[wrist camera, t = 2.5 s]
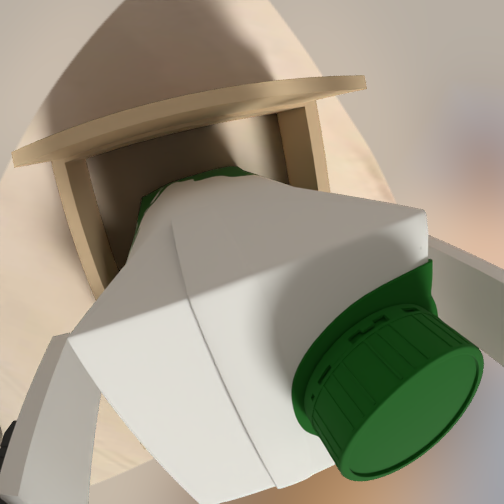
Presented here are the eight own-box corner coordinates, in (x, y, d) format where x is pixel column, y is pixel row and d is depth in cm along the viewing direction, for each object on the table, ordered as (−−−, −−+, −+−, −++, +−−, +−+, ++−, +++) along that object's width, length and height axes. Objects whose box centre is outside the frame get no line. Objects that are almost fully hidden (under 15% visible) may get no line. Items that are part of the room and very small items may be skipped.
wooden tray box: (135, 341, 25) (131, 451, 14) (72, 151, 19) (-5, 160, 9) (313, 289, 28) (391, 367, 17) (285, 101, 22) (379, 75, 11)
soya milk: (274, 259, 26) (458, 455, 7) (165, 297, 24) (201, 568, 6) (245, 150, 22) (518, 192, 4) (123, 189, 21) (-26, 391, 3)
